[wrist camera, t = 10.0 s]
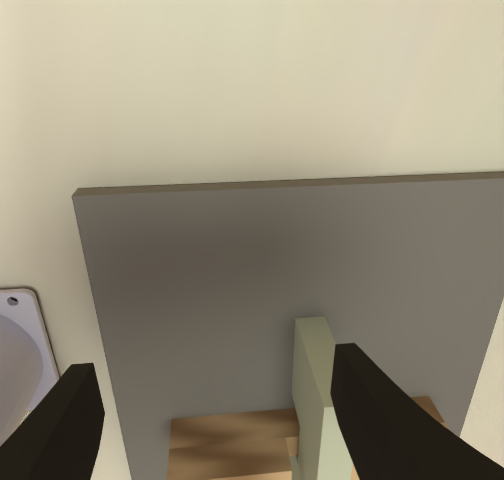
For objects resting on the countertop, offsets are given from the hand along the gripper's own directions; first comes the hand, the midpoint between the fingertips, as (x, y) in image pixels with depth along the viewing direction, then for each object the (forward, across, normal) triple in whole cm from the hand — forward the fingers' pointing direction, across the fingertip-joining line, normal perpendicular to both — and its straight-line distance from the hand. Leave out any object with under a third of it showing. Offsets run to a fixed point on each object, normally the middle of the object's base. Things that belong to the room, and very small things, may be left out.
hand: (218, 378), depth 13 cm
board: (+9, -5, +8) cm, 14 cm away
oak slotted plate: (+8, -5, +12) cm, 15 cm away
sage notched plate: (+8, -5, +11) cm, 15 cm away
